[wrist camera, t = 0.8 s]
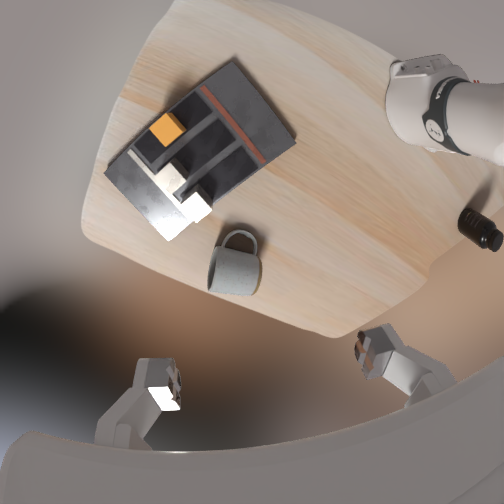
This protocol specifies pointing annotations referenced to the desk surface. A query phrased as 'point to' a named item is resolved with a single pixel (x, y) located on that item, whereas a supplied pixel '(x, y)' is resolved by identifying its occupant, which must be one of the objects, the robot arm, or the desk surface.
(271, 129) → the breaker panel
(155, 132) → the toggle
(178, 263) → the desk surface
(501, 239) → the supplement bottle
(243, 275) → the ceramic mug
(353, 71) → the desk surface
